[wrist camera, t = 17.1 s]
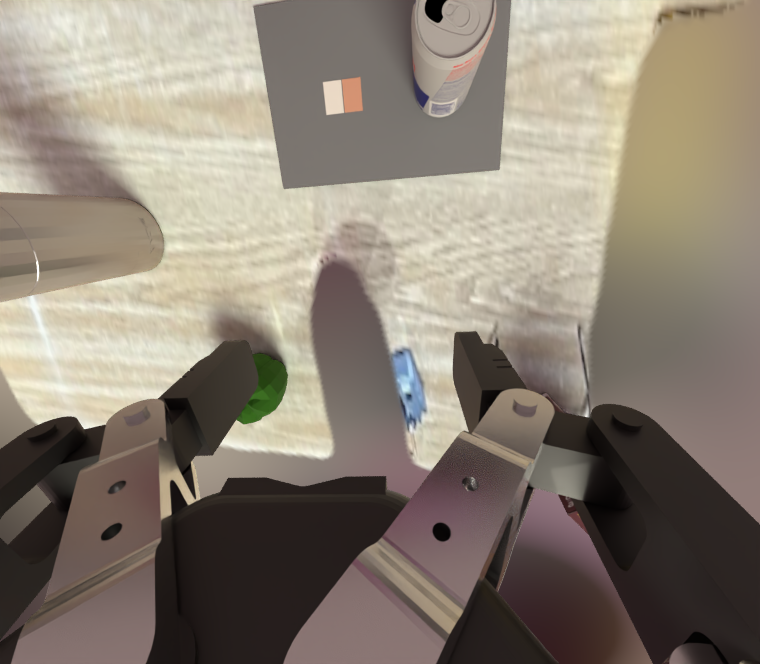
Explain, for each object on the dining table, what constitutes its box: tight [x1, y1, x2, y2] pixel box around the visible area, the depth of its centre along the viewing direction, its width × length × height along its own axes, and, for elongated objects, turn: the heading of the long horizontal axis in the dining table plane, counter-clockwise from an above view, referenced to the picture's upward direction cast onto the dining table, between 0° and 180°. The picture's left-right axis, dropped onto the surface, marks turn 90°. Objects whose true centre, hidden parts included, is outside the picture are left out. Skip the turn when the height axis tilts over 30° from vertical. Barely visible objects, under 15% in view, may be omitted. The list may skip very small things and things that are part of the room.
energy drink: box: [411, 0, 497, 118], centre depth 24 cm, size 5×5×12 cm
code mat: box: [254, 0, 511, 189], centre depth 30 cm, size 24×16×1 cm, turn 94°
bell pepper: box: [236, 353, 288, 424], centre depth 40 cm, size 8×8×10 cm
